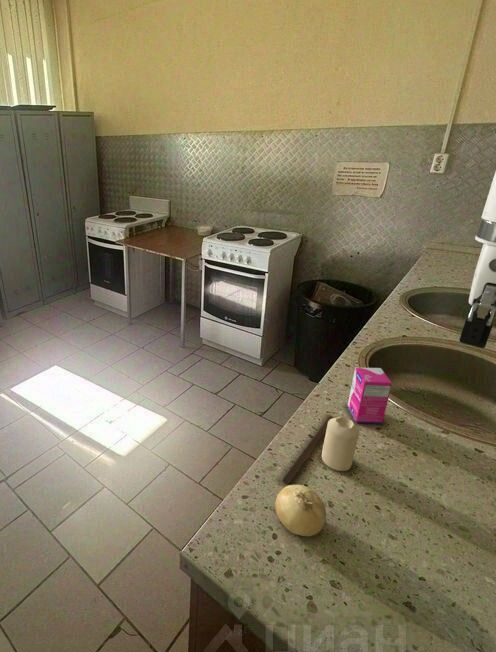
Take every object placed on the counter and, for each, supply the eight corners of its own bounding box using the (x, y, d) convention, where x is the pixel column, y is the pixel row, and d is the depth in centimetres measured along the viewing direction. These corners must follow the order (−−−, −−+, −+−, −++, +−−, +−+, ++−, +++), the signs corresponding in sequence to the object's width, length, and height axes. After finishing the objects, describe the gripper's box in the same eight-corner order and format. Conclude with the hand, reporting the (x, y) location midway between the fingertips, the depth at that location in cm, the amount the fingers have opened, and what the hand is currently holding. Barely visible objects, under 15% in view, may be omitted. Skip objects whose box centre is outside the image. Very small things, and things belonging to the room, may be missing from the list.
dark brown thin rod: (334, 420, 90) (335, 417, 90) (288, 484, 75) (289, 482, 74) (329, 417, 91) (329, 415, 91) (282, 481, 75) (282, 479, 75)
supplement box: (346, 406, 94) (354, 366, 90) (372, 408, 94) (382, 367, 89) (354, 423, 89) (364, 381, 85) (383, 425, 88) (394, 383, 84)
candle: (320, 466, 78) (328, 426, 75) (321, 446, 83) (329, 408, 79) (351, 475, 76) (361, 435, 72) (351, 455, 81) (360, 416, 77)
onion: (264, 509, 70) (268, 480, 67) (299, 494, 73) (304, 466, 70) (296, 551, 63) (301, 520, 60) (334, 533, 66) (341, 503, 63)
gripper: (543, 250, 51) (500, 363, 57) (545, 225, 62) (509, 321, 69) (469, 241, 56) (438, 345, 62) (484, 219, 67) (455, 309, 74)
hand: (475, 333), depth 65 cm, fingers open, 9 cm apart
